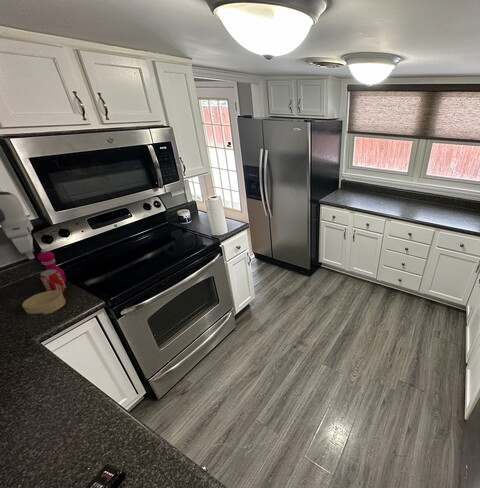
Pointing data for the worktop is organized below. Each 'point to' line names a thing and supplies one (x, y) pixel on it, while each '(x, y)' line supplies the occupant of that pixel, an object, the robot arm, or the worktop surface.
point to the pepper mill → (50, 262)
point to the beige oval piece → (44, 302)
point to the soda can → (52, 280)
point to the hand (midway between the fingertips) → (32, 254)
